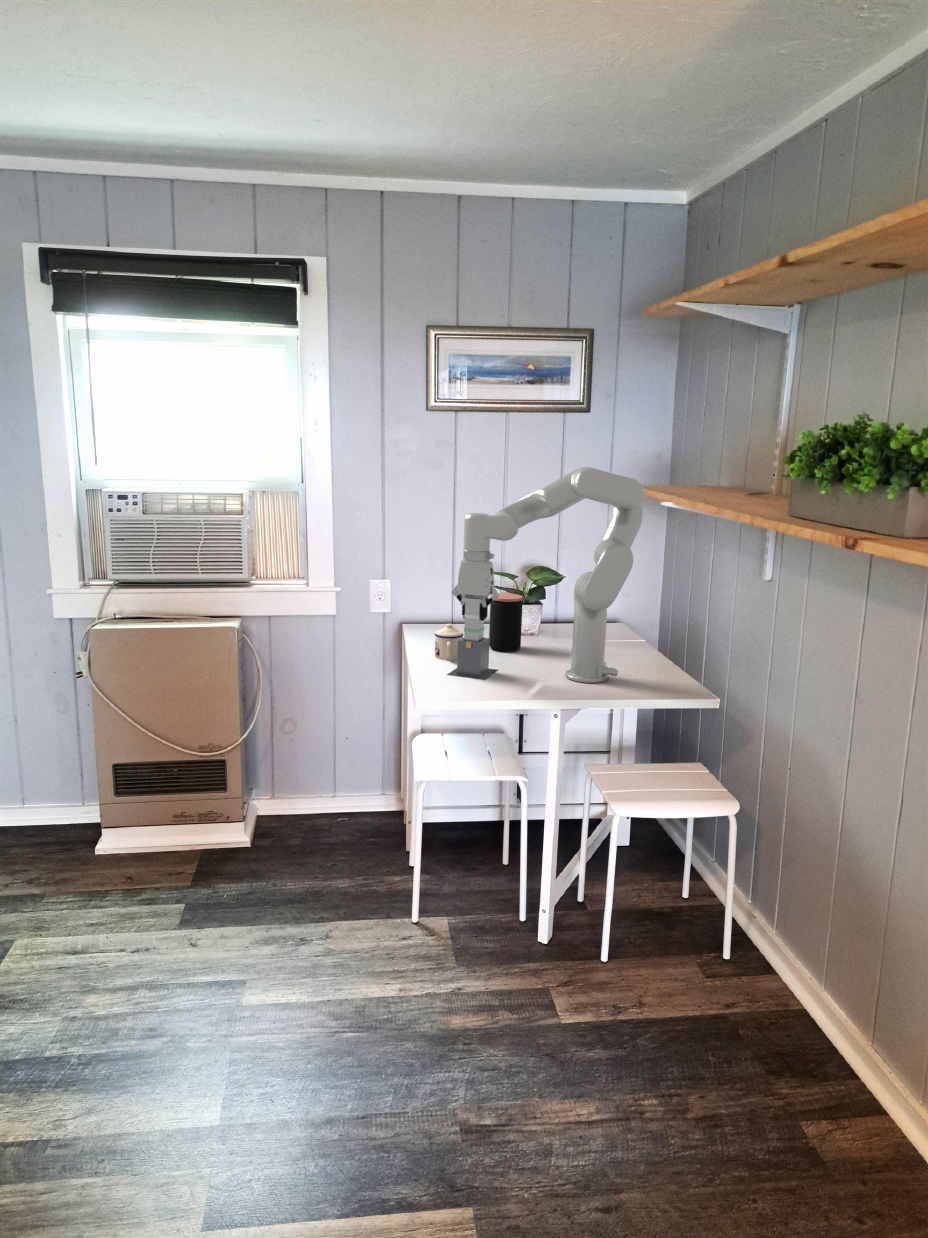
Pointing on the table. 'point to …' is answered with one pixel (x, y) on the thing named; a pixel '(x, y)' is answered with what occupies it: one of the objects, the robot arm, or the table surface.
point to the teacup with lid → (447, 642)
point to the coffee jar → (505, 623)
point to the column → (473, 619)
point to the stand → (473, 660)
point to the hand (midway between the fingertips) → (474, 618)
